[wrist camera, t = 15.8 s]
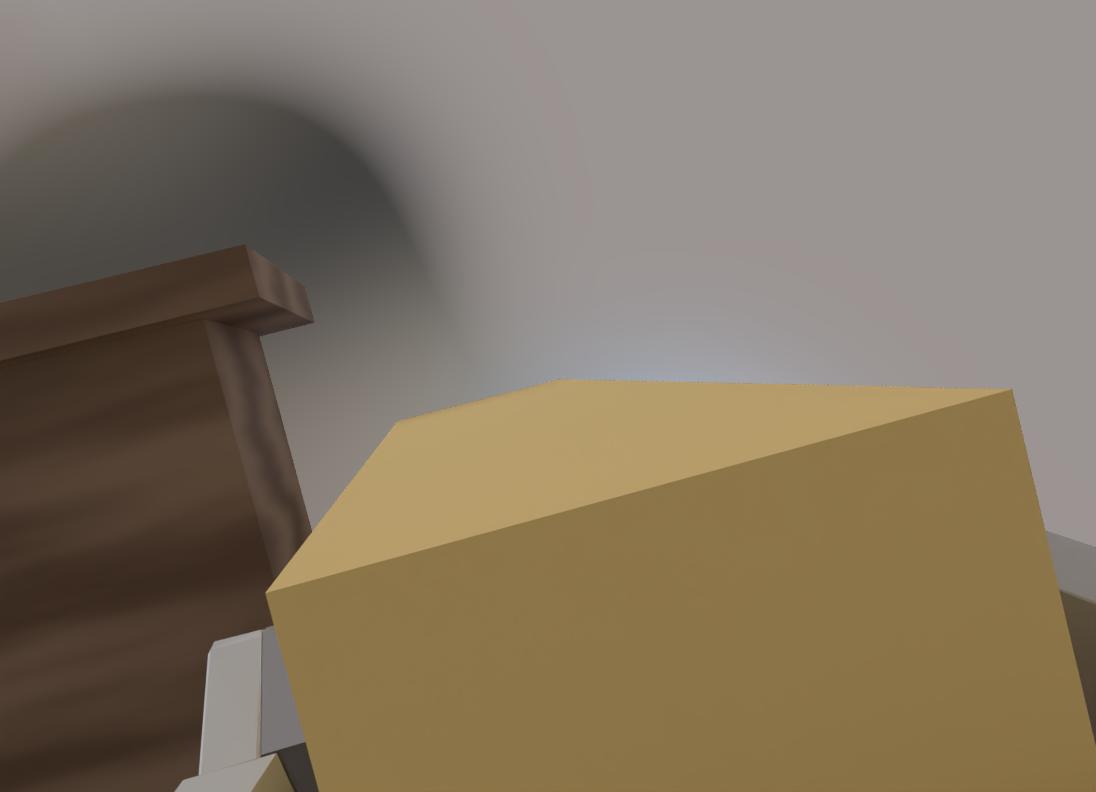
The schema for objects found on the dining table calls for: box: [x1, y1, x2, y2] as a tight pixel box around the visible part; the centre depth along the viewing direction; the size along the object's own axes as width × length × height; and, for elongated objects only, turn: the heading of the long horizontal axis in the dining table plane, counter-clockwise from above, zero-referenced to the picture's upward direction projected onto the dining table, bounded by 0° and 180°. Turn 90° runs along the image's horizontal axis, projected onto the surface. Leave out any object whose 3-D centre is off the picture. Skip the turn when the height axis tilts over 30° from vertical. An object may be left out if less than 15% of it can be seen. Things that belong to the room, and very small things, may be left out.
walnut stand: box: [0, 245, 314, 792], centre depth 36 cm, size 14×14×26 cm
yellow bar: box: [265, 379, 1096, 792], centre depth 17 cm, size 22×4×4 cm, turn 6°
